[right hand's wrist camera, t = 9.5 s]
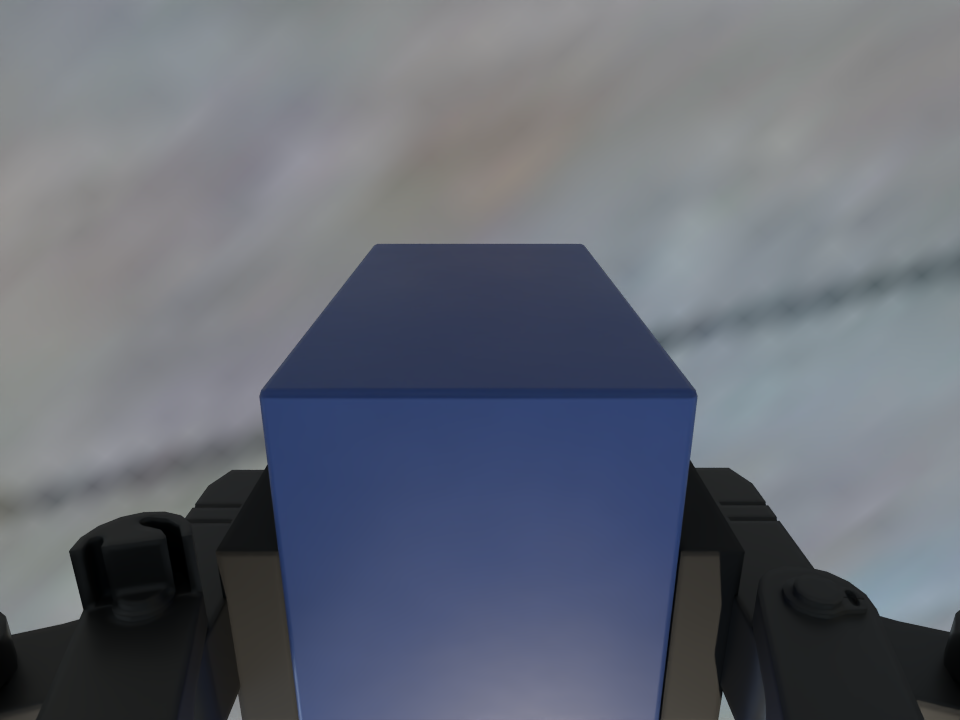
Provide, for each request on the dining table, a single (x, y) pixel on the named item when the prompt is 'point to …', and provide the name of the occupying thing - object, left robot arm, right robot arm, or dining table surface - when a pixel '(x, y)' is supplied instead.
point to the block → (478, 490)
